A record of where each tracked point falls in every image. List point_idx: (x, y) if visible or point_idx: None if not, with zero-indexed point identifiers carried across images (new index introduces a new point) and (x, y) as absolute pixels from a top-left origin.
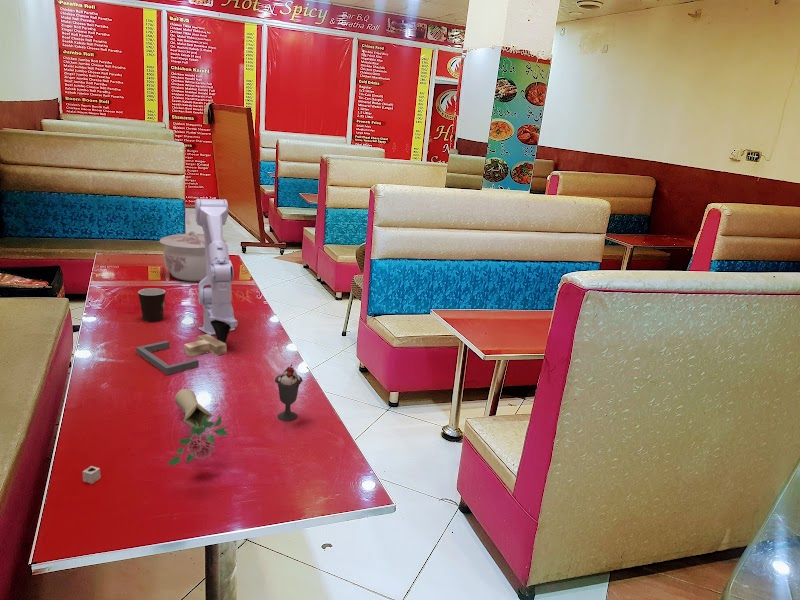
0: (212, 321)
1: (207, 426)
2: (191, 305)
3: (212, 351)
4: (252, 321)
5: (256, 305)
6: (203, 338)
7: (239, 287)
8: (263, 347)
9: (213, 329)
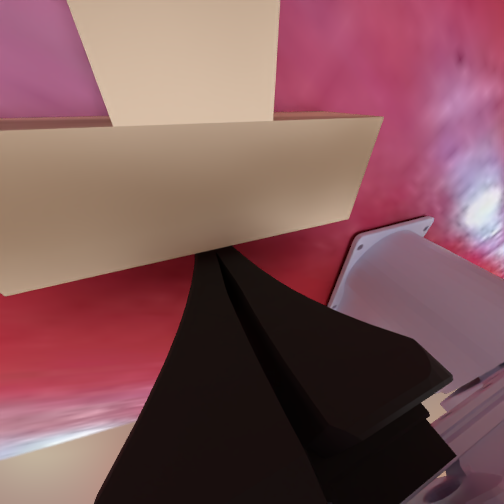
0: (421, 399)
1: None
2: (495, 250)
3: (56, 120)
4: None
5: None
6: (301, 139)
7: None
8: (111, 383)
9: (373, 262)
